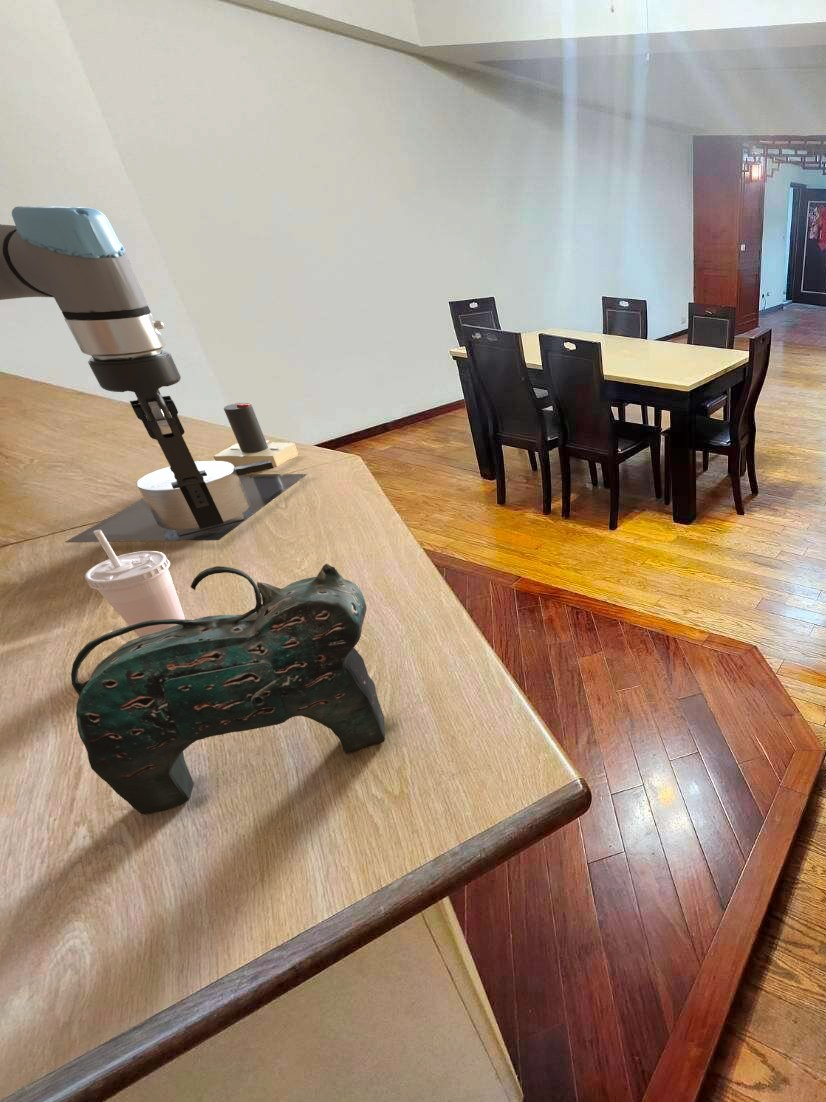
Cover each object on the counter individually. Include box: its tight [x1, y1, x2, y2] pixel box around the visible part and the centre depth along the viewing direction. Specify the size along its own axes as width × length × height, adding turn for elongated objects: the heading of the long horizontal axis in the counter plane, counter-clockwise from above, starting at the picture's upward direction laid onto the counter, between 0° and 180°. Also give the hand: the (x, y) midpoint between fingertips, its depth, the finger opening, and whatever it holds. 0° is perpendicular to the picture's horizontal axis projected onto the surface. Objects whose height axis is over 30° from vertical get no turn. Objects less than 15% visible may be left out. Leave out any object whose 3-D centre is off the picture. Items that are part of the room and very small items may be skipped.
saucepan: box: [136, 460, 274, 536], centre depth 89 cm, size 16×11×7 cm
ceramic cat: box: [70, 563, 386, 815], centre depth 47 cm, size 20×6×20 cm, turn 118°
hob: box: [65, 473, 308, 543], centre depth 93 cm, size 20×24×1 cm
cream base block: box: [213, 440, 299, 468], centre depth 109 cm, size 10×8×3 cm
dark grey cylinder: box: [223, 402, 268, 453], centre depth 106 cm, size 4×4×8 cm
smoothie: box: [84, 530, 186, 638], centre depth 63 cm, size 6×6×14 cm
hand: (211, 524), depth 83 cm, fingers closed
